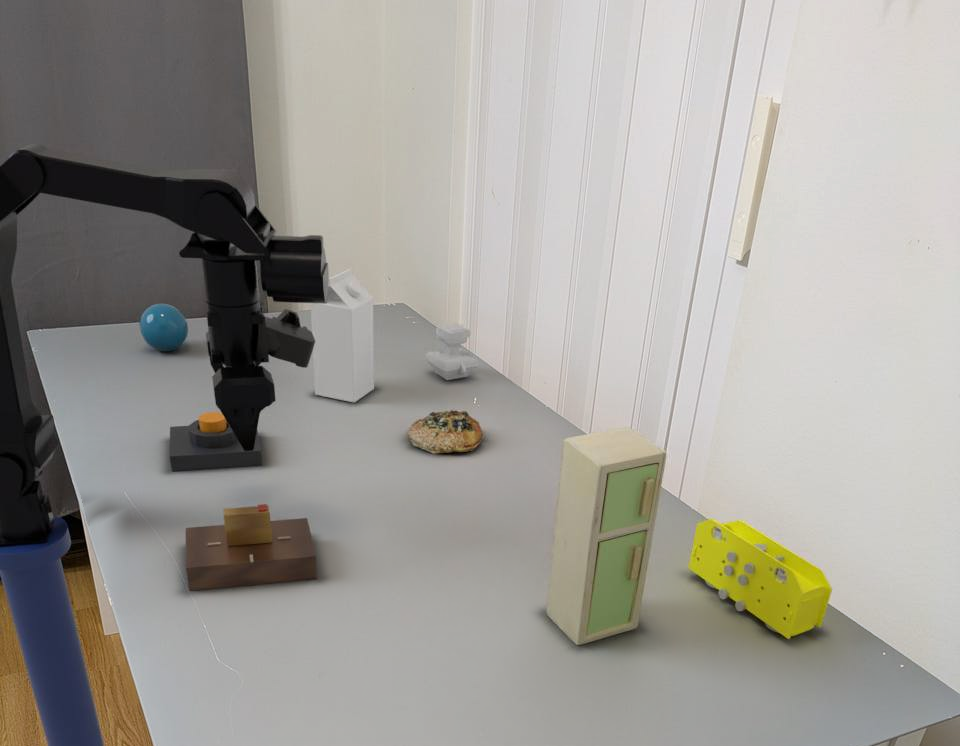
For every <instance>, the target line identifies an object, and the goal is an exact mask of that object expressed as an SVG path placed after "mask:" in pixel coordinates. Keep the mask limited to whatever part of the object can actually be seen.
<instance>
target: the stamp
mask: <svg viewBox="0 0 960 746" xmlns="http://www.w3.org/2000/svg"><path fill="white" fill-rule="evenodd" d="M435 335H436V336H437V338H438V340H439V341H441V342H443V343H444V349H437V350H430V351H428V352H427V353H426V355H425V360H426V362H427V363H428V365H429V366H430V368H431V369H432V371H433V372H434V373H435V374H437V375H438V376H440V377H441V378H443V379H444V380H445V381H452V380H457V379H463V378H467V377H470V375H471V374H472V373H474V371H475V370H476V369H477V368H478V367H479V362H478V359H477V358H476V357H474V356H473V355H471V354H470V353H468V352H467V351H465V350H463V349H462V348H460V347H461V344H465V343H466V344H467V342H468V339H469V338H471V329H470V328H468V327H466V326H464V325H462V324H460V323H459V322H456V323H451V324H446V325H440V326H436V329H435Z"/></svg>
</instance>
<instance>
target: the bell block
mask: <svg viewBox="0 0 960 746" xmlns="http://www.w3.org/2000/svg"><path fill="white" fill-rule="evenodd" d="M226 425H227V429H226V430H224V431H220V432H213V433H208V432H202V431H201V430H200V425H199V419H197V420H194V421H193V422H191V423H190V424H188V425H177V426H170V427H169V461H170V462H169V463H170V469H171V472H180V471H193V470H194V471H195V470H207V469H224V468H237V467H239V468H240V467H253V466H263V459H262V458H263V457H262V448H261V443H260V437H259V431H258V429H257V433H256V439H255V446H254V450H253V451H244V450H243V448H242V446H241V445H240V443H239V441H238V439H237V438H236V436H235V434H234V432H233V431H232V429H231V427H230V426H229V424H228V422H227V421H226Z"/></svg>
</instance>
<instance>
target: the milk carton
mask: <svg viewBox="0 0 960 746" xmlns="http://www.w3.org/2000/svg"><path fill="white" fill-rule="evenodd" d="M310 318H311V319H310V320H311V332H312V334H313V336H314V339H315V345H314V348H313V351H312V357H313V376H314V394H315V395H316V396H320V397H324V398H330V399H334V400H340V401H343V402H344V401H345V402H347V403H348V402H349V403H356V402H357V401H359V400H360V399H362V398H363V397H365V396H366V395H368V394H370V393H371V392H372V391H373V390H374V389H375V359H374V358H375V350H374V348H375V346H374V345H375V343H374V297H373V296H372V295H371V294H370V292H369V291H368V289H366V288H365V287H364V286H363V284H362V283H361V282H360V281H359V280H358V278H357V277H356V276H355V275H354V268H353V267H350V268H348V269H347V270H344V271H342V272H340V273H338V274H336V275H333V276H331V277H329V285H328V300H327V303H326V304H321V303H310Z"/></svg>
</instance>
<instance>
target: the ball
mask: <svg viewBox="0 0 960 746" xmlns="http://www.w3.org/2000/svg"><path fill="white" fill-rule="evenodd" d="M139 319H140V320H139V331H140V334H141V336H142V338H143V340H144V341H145V342H146V344H148V346H149V347H151V348H153V349H155V350H157V351H160V352H172V351H175V350H177V349H179V348H180V347H182V346H183V344H184V343H185V341H186V340H187V337H188V333H189V326H188V322H187V320H186V318H185V316H184V314H183V313H182V312H181V311H180V310H179V309H178V308H177V307H175V306H173V305H171V304H168V303H154V304H153V305H150V306H149V307H147V308H146V309H145V311H144V312H143V313H142V315H141V317H140V318H139Z"/></svg>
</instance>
